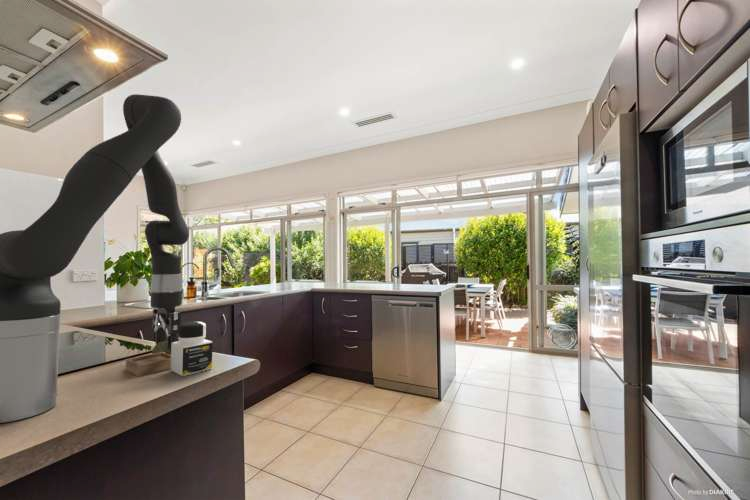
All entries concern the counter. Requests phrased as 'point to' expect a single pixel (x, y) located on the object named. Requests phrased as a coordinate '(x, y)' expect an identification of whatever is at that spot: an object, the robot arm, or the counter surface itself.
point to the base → (148, 364)
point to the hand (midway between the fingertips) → (165, 346)
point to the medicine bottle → (191, 350)
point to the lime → (161, 348)
